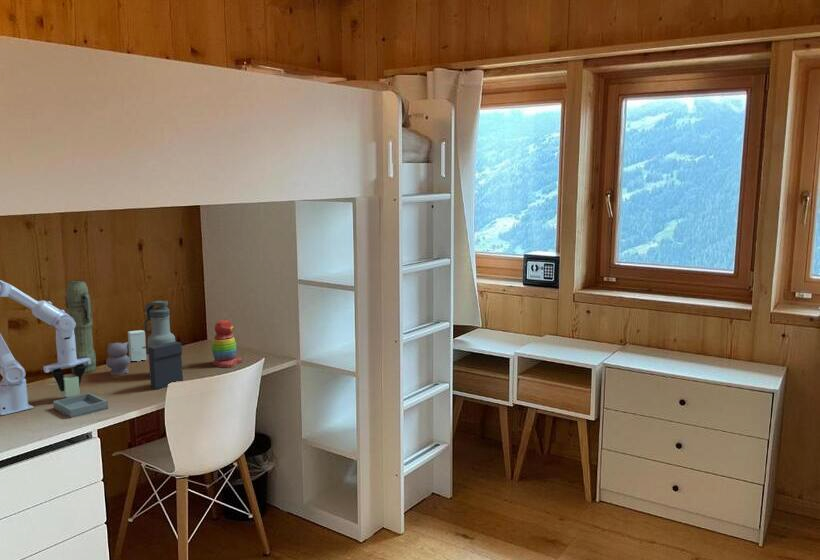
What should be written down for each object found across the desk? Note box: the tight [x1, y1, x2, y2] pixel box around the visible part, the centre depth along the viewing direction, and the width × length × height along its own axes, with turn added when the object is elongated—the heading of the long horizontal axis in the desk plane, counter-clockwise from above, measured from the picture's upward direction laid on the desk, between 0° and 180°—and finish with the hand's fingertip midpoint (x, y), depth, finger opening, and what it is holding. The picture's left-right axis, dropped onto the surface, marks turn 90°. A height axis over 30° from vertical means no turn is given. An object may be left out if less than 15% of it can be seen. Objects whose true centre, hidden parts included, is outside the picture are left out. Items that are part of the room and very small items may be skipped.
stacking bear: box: [211, 318, 243, 369], centre depth 273 cm, size 11×10×18 cm
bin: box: [52, 392, 109, 419], centre depth 222 cm, size 12×14×2 cm
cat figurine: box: [105, 341, 131, 376], centre depth 262 cm, size 8×8×12 cm
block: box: [59, 374, 81, 398], centre depth 232 cm, size 4×4×6 cm
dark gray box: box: [147, 340, 184, 390], centre depth 245 cm, size 11×4×15 cm, turn 141°
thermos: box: [64, 279, 97, 374], centre depth 265 cm, size 9×12×35 cm
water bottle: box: [143, 300, 176, 369], centre depth 258 cm, size 10×10×28 cm
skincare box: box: [127, 329, 147, 362], centre depth 281 cm, size 6×4×12 cm
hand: (69, 388), depth 232 cm, fingers closed on block, 4 cm apart
